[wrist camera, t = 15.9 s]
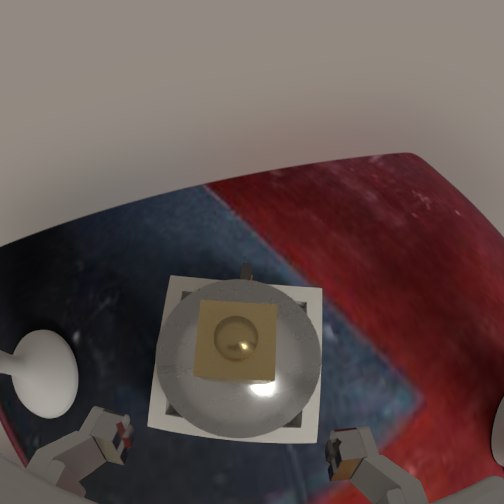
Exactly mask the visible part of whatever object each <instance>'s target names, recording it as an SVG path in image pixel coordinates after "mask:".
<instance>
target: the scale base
mask: <svg viewBox="0 0 504 504" xmlns="http://www.w3.org/2000/svg"><path fill="white" fill-rule="evenodd" d="M219 281H224V280H213V279H203V278H193V277H183V276H173V275H170V280H169V285H168V290H167V295H166V301H165V306H164V311H163V317H162V323H161V329H162V327H163V325H164V323H165V321H166V319H167V317H168V316H169V314H170V313H171V312H172V310H173V309H174V308H175V307H176V306H177V305H178V304H179V303H180V302H181V301H182V300H183V299H184V298H185V297H187V296H188V295H189V294H191V293H192V292H194V291H196V290H197V289H199V288H202V287H204V286H206V285H209V284H212V283H215V282H219ZM252 281H257V280H252ZM257 282H258V281H257ZM267 285H270V284H267ZM270 286H272V287H275V288H277V289H278V290H280V291H282V292H284V293H285V294H287V295H288V296H289V297H291V298H292V299H293V300H294V301H295V302H296V303H297V304H299V305H300V307H301V308H302V309H303V310H304V311H305V313H306V314H307V315H308V317H309V319H310V320H311V322H312V324H313V326H314V328H315V330H316V333H317V336H318V339H319V343H320V349H321V356H322V288H311V287H297V286H283V285H270ZM161 329H160V332H161ZM320 384H321V369H320V375H319V379H318V383H317V385H316V388H315V391H314V393H313V395H312V396H311V398H310V400H309V402H308V403H307V404H306V406H305V407H304V408H303V410H302V411H301V412H300V413H299V414H298V415H297V416H296V417H295V418H294V419H292V420H291V421H290V422H288V423H287V424H285V425H284V426H282V427H280V428H278V429H277V430H275V431H272V432H270V433H267V434H264V435H260V436H256V437H250V438H228V437H222V436H217V435H214V434H211V433H208V432H206V431H203V430H201V429H199V428H197V427H196V426H194V425H193V424H191V423H189V422H188V421H187V420H186V419H184V418H183V417H182V416H181V415H180V414H179V413H178V412H177V411H176V410H175V409H174V408H173V406H172V405H171V404H170V402H169V401H168V399H167V398H166V396H165V394H164V392H163V390H162V388H161V385H160V382H159V379H158V375H157V369H156V361H155V368H154V375H153V382H152V390H151V399H150V408H149V417H148V426H149V427H153V428H157V429H162V430H167V431H172V432H178V433H183V434H189V435H195V436H202V437H209V438H217V439H226V440H236V441H248V442H265V443H317V432H318V418H319V403H320Z"/></svg>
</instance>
